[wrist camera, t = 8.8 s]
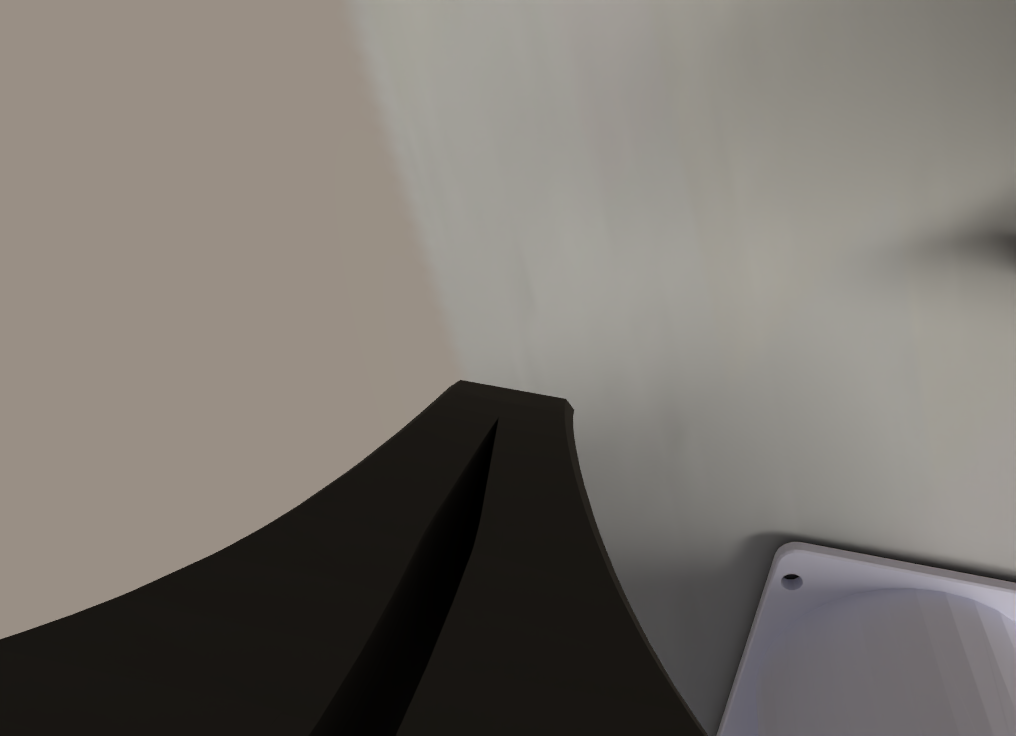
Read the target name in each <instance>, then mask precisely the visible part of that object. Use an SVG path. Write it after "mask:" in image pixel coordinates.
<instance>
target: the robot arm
mask: <svg viewBox="0 0 1016 736" xmlns="http://www.w3.org/2000/svg"><path fill="white" fill-rule="evenodd" d="M573 414H574V409H573V408H572V406H571V405H570V404H569V402H568V401H567V400H566V399H563V398H557V397H552V396H546V395H541V394H535V393H530V392H524V391H518V390H513V389H507V388H502V387H496V386H491V385H485V384H480V383H474V382H468V381H463V380H460V381H458V382H457V383H455V384H454V385H452V386H451V387H449V388H448V389H447V390H446V391H445V392H444V393H443V394H441V395H440V396H439V397H438V398H437V399H436V400H435V401H434V402H432V403H431V404H430V405H429V406H428V407H427V408H426V409H425V410H423V412H421V413H420V414H419V415H418V416H417V417H416V418H414V419H413V420H412V421H411V422H410V423H408V424H407V425H406V426H405V427H404V428H402V430H400V431H399V432H398V433H396V434H395V435H394V436H393V437H391V438H390V439H389V440H388V441H386V442H385V443H384V444H383V445H381V446H380V447H379V448H377V449H376V450H375V451H374V452H372V453H371V454H370V455H369V456H367V457H366V458H365V459H364V460H362V461H361V462H360V463H358V464H357V465H356V466H354V467H353V468H352V469H350V470H349V471H348V472H346V473H345V474H344V475H342V476H341V477H339V478H338V479H336V480H335V481H333V482H332V483H330V484H329V485H327V486H326V487H325V488H323V489H322V490H320V491H319V492H317V493H316V494H314V495H313V496H311V497H310V498H309V499H307V500H306V501H305V502H303V503H301V504H300V505H298V506H297V507H295V508H294V509H292V510H290V511H289V512H287V513H286V514H284V515H282V516H281V517H279V518H278V519H276V520H274V521H273V522H271V523H269V524H268V525H266V526H264V527H263V528H261V529H259V530H257V531H256V532H254V533H252V534H250V535H249V536H246V537H245V538H243V539H241V540H239V541H237V542H236V543H234V544H232V545H230V546H228V547H226V548H224V549H222V550H220V551H218V552H216V553H214V554H213V555H210V556H208V557H206V558H204V559H202V560H200V561H197V562H195V563H193V564H191V565H188V566H186V567H184V568H182V569H180V570H177V571H175V572H173V573H171V574H169V575H167V576H164V577H162V578H160V579H158V580H156V581H153V582H151V583H149V584H147V585H144V586H142V587H140V588H138V589H136V590H133V591H131V592H129V593H126V594H124V595H122V596H119V597H117V598H114V599H112V600H109V601H106V602H104V603H101V604H98V605H96V606H93V607H91V608H88V609H86V610H83V611H81V612H78V613H75V614H73V615H70V616H67V617H64V618H61V619H59V620H56V621H53V622H50V623H47V624H44V625H42V626H39V627H36V628H33V629H30V630H27V631H24V632H21V633H19V634H15V635H12V636H10V637H6V638H3V639H0V736H708V735H707V734H706V732H705V731H704V729H703V728H702V726H701V725H700V723H699V722H698V720H697V719H696V717H695V716H694V714H693V713H692V711H691V710H690V708H689V707H688V705H687V704H686V702H685V701H684V699H683V698H682V696H681V695H680V694H679V692H678V691H677V689H676V688H675V686H674V684H673V683H672V681H671V679H670V678H669V676H668V674H667V672H666V671H665V669H664V667H663V666H662V664H661V662H660V660H659V659H658V657H657V655H656V653H655V652H654V650H653V648H652V646H651V645H650V643H649V641H648V639H647V637H646V635H645V633H644V632H643V630H642V628H641V626H640V624H639V622H638V620H637V618H636V616H635V614H634V612H633V610H632V608H631V606H630V604H629V602H628V600H627V598H626V596H625V594H624V591H623V589H622V587H621V585H620V582H619V580H618V578H617V576H616V573H615V571H614V568H613V566H612V564H611V561H610V559H609V556H608V554H607V551H606V549H605V546H604V544H603V541H602V538H601V536H600V533H599V530H598V527H597V524H596V522H595V518H594V515H593V512H592V509H591V505H590V502H589V499H588V496H587V492H586V489H585V486H584V482H583V478H582V474H581V470H580V466H579V461H578V456H577V451H576V446H575V439H574V430H573ZM788 574H796V575H798V576H799V577H798V578H795V579H785V578H783V576H785V575H788ZM716 736H1016V583H1014V582H1009V581H1004V580H998V579H993V578H988V577H983V576H977V575H972V574H967V573H961V572H956V571H951V570H946V569H940V568H935V567H930V566H924V565H919V564H914V563H909V562H903V561H898V560H893V559H887V558H882V557H877V556H872V555H866V554H861V553H856V552H851V551H845V550H840V549H835V548H829V547H824V546H819V545H814V544H808V543H803V542H790V543H786V544H784V545H782V546H781V547H780V548H778V550H777V552H776V553H775V556H774V559H773V562H772V565H771V568H770V571H769V575H768V578H767V581H766V584H765V587H764V590H763V593H762V596H761V599H760V602H759V605H758V609H757V612H756V615H755V618H754V621H753V624H752V627H751V630H750V633H749V636H748V640H747V643H746V646H745V649H744V652H743V655H742V658H741V661H740V664H739V667H738V670H737V674H736V677H735V680H734V683H733V686H732V689H731V692H730V695H729V698H728V701H727V704H726V708H725V711H724V714H723V717H722V720H721V723H720V726H719V729H718V732H717V735H716Z"/></svg>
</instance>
